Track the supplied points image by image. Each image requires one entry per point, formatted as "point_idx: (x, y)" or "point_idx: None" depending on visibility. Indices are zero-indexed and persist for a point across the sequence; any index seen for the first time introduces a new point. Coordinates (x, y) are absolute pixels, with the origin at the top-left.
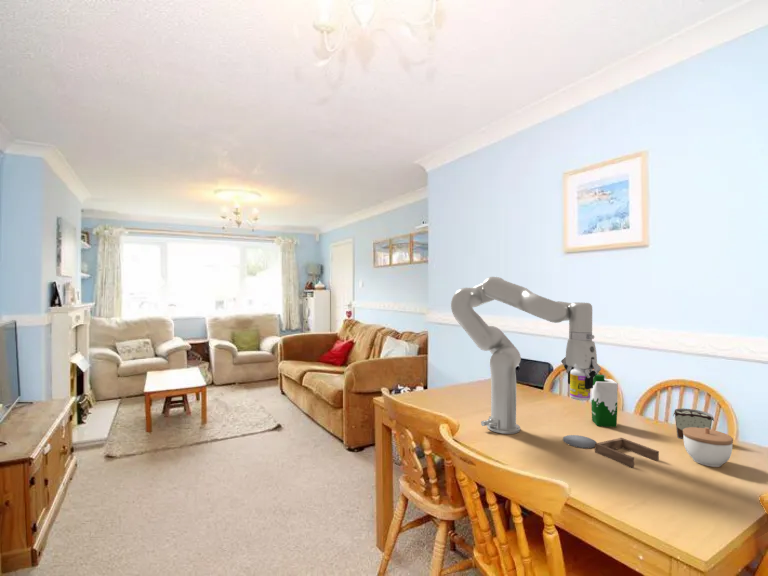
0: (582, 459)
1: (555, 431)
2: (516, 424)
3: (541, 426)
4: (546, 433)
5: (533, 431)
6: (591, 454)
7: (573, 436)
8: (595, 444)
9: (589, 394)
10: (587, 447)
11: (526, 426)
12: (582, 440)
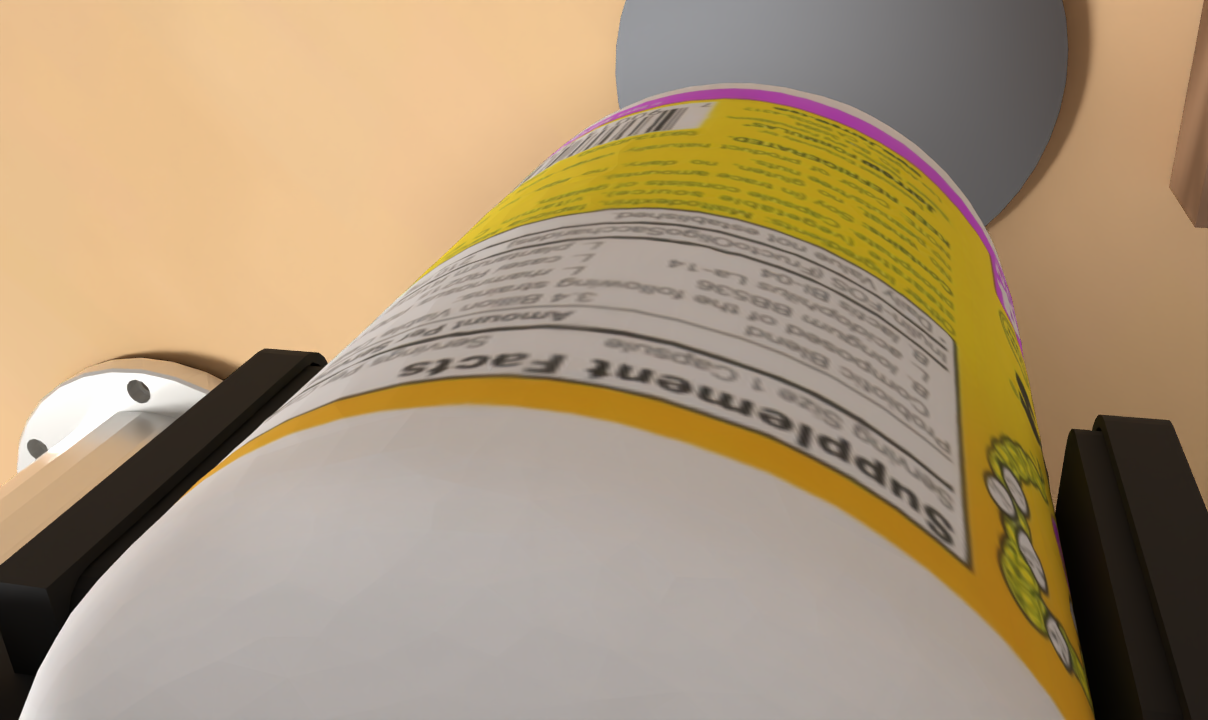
0: (1203, 495)
1: (401, 38)
2: (161, 386)
3: (202, 63)
4: (428, 209)
5: (331, 296)
6: (1181, 283)
7: (677, 21)
8: (1201, 222)
9: (1021, 346)
10: (1033, 169)
11: (170, 240)
12: (841, 30)
